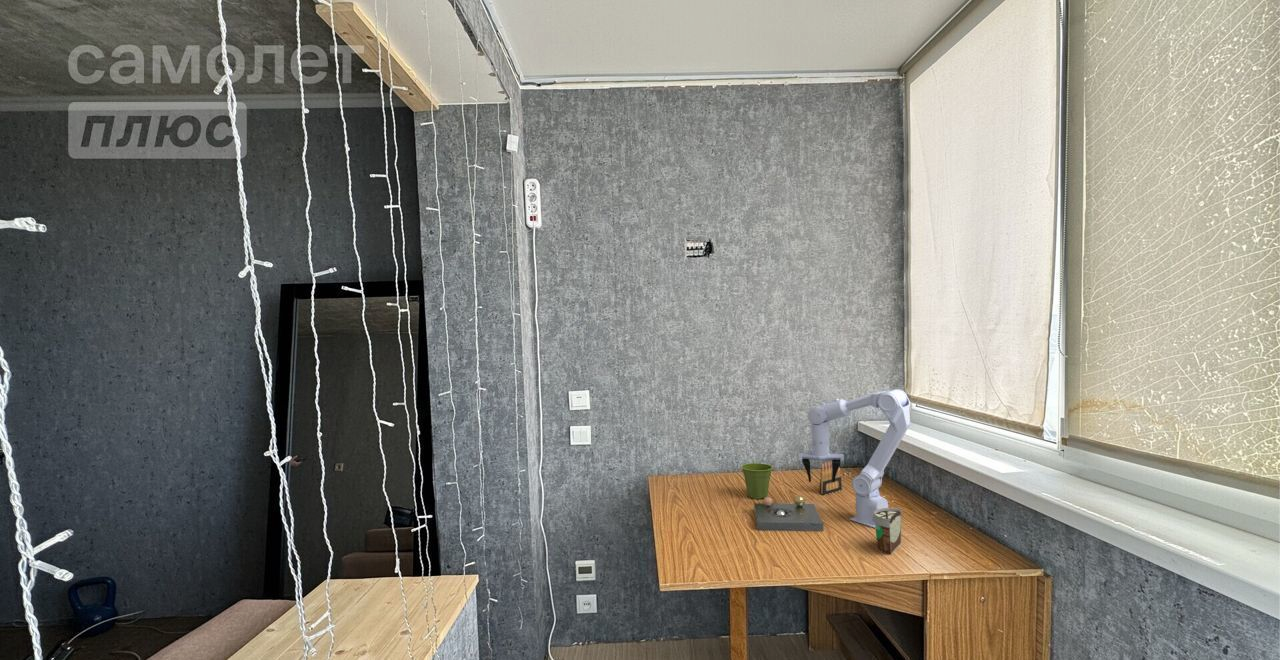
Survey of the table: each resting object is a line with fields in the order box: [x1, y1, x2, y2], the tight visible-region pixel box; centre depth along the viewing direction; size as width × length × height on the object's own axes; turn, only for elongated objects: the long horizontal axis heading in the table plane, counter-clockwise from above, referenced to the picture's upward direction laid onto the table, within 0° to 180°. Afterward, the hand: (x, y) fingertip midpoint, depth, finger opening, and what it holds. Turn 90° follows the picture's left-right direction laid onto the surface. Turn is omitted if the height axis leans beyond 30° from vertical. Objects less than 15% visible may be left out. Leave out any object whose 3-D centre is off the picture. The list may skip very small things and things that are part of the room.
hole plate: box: [753, 502, 825, 532], centre depth 194 cm, size 20×19×2 cm
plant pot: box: [740, 462, 774, 500], centre depth 220 cm, size 12×12×11 cm
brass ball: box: [793, 494, 806, 506], centre depth 200 cm, size 4×4×4 cm
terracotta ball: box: [762, 496, 773, 506], centre depth 202 cm, size 3×3×3 cm
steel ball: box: [776, 510, 786, 515], centre depth 194 cm, size 3×3×3 cm
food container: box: [872, 507, 903, 556], centre depth 170 cm, size 12×6×10 cm, turn 141°
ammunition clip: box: [819, 460, 843, 496], centre depth 223 cm, size 11×2×12 cm, turn 124°
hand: (821, 481), depth 201 cm, fingers open, 7 cm apart
